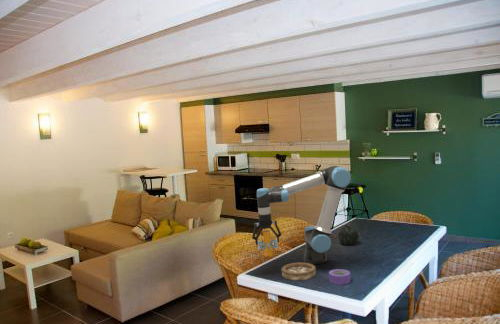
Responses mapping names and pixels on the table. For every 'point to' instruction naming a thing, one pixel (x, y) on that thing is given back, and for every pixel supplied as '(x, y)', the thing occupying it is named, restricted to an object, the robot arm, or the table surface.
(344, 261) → the table surface
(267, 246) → the orange upright piece
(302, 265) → the round brown basket
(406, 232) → the table surface
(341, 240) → the squash
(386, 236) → the table surface
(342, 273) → the tape roll
